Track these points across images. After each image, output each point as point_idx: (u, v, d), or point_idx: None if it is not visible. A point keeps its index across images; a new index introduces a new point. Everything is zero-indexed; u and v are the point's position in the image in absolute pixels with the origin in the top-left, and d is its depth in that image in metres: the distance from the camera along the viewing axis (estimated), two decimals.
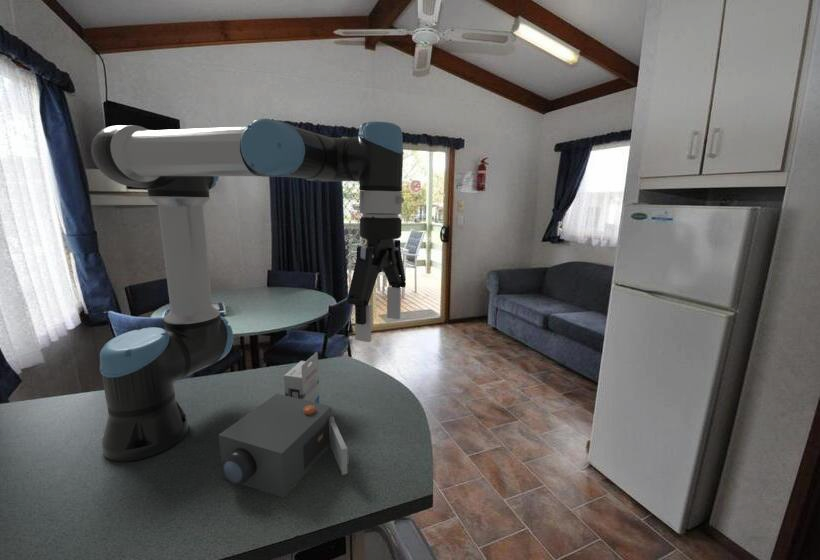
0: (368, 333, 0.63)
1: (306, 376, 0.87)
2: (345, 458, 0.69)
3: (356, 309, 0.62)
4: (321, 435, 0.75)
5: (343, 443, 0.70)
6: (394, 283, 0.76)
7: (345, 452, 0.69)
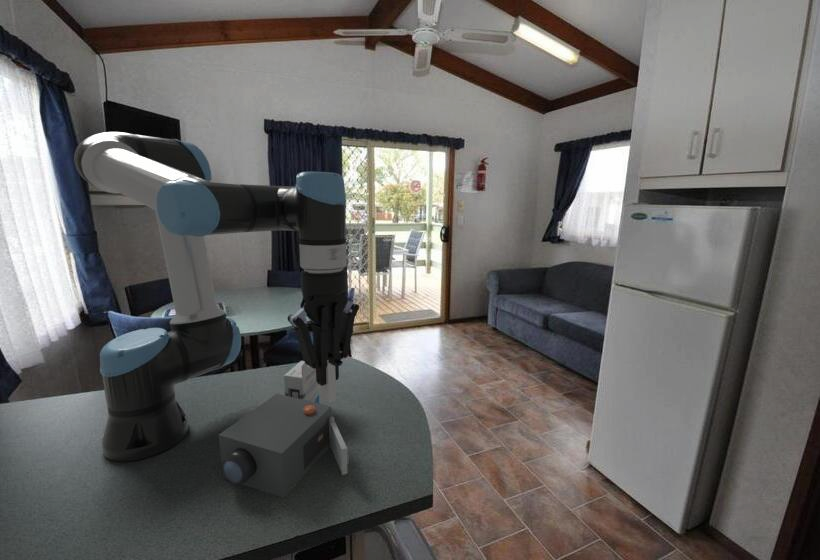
0: (328, 394, 0.64)
1: (306, 376, 0.87)
2: (345, 458, 0.69)
3: (316, 370, 0.64)
4: (321, 435, 0.75)
5: (343, 443, 0.70)
6: (330, 359, 0.65)
7: (345, 452, 0.69)
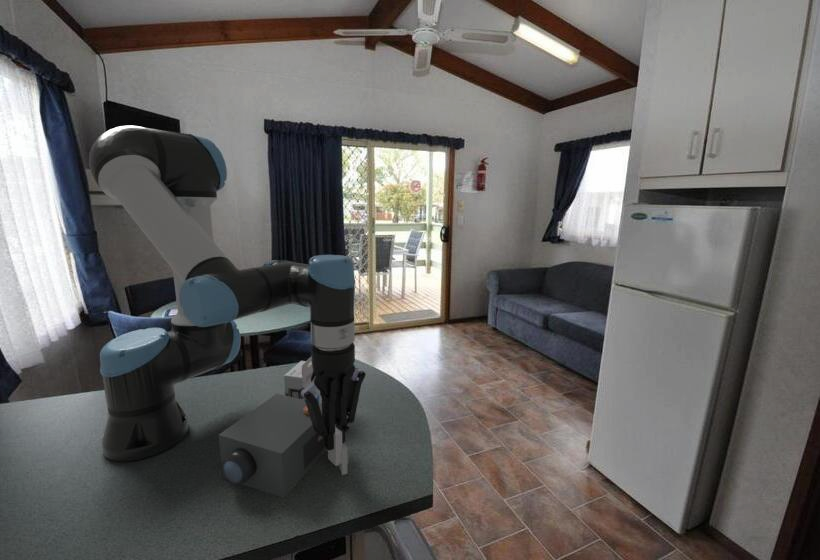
0: (335, 458, 0.68)
1: (306, 376, 0.87)
2: (345, 458, 0.69)
3: (324, 435, 0.68)
4: None
5: (343, 443, 0.70)
6: (337, 424, 0.69)
7: (345, 452, 0.69)
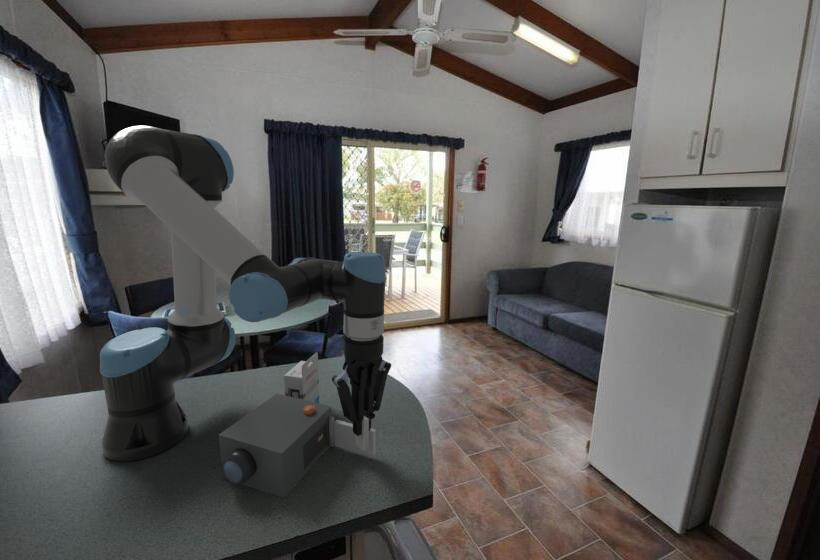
0: (362, 443, 0.73)
1: (306, 376, 0.87)
2: (374, 439, 0.75)
3: (353, 421, 0.72)
4: (321, 435, 0.75)
5: None
6: (364, 412, 0.73)
7: (375, 434, 0.75)
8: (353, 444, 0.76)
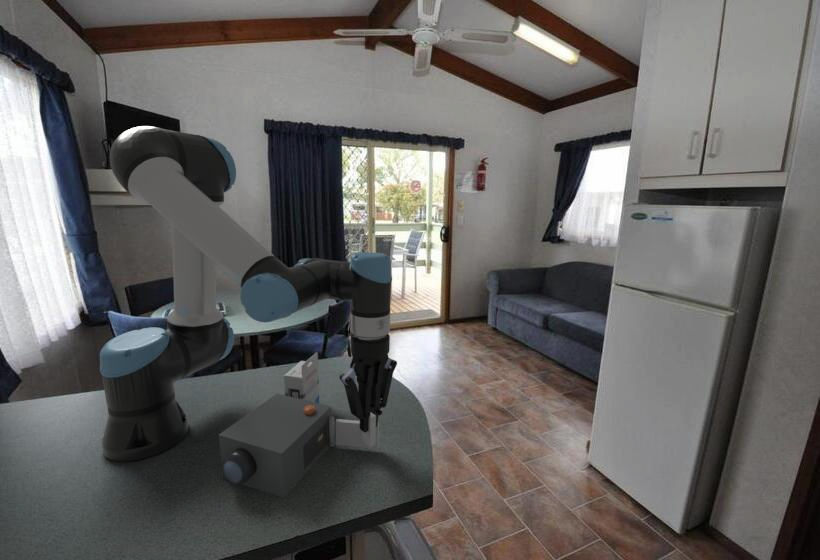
0: (369, 440, 0.74)
1: (306, 376, 0.87)
2: (378, 432, 0.77)
3: (360, 418, 0.74)
4: (321, 435, 0.75)
5: None
6: (371, 408, 0.75)
7: (378, 426, 0.77)
8: (356, 440, 0.77)
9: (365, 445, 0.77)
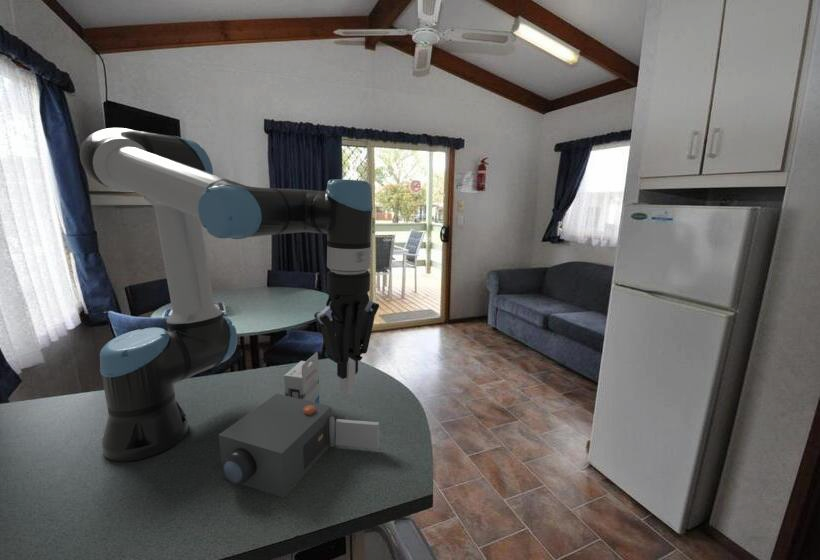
0: (347, 387, 0.69)
1: (306, 376, 0.87)
2: (378, 432, 0.77)
3: (337, 364, 0.68)
4: (321, 435, 0.75)
5: (371, 422, 0.77)
6: (350, 354, 0.69)
7: (378, 426, 0.77)
8: (356, 440, 0.77)
9: (365, 445, 0.77)
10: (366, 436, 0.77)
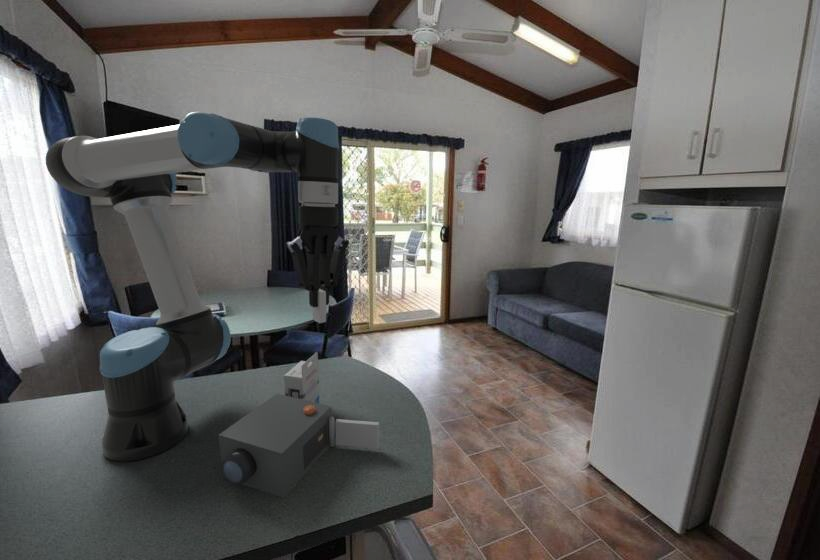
0: (319, 316, 0.75)
1: (306, 376, 0.87)
2: (378, 432, 0.77)
3: (309, 293, 0.74)
4: (321, 435, 0.75)
5: (371, 422, 0.77)
6: (322, 286, 0.76)
7: (378, 426, 0.77)
8: (356, 440, 0.77)
9: (365, 445, 0.77)
10: (366, 436, 0.77)
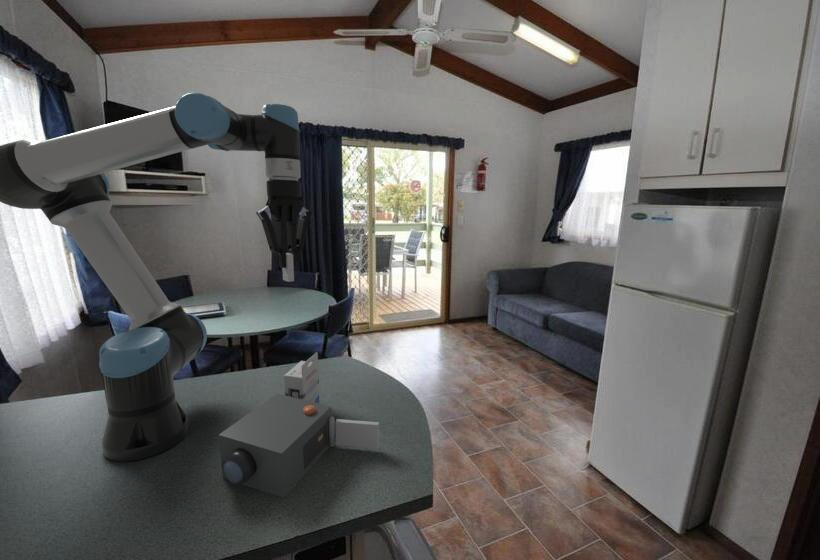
0: (287, 275, 0.88)
1: (306, 376, 0.87)
2: (378, 432, 0.77)
3: None
4: (321, 435, 0.75)
5: (371, 422, 0.77)
6: (289, 250, 0.88)
7: (378, 426, 0.77)
8: (356, 440, 0.77)
9: (365, 445, 0.77)
10: (366, 436, 0.77)
